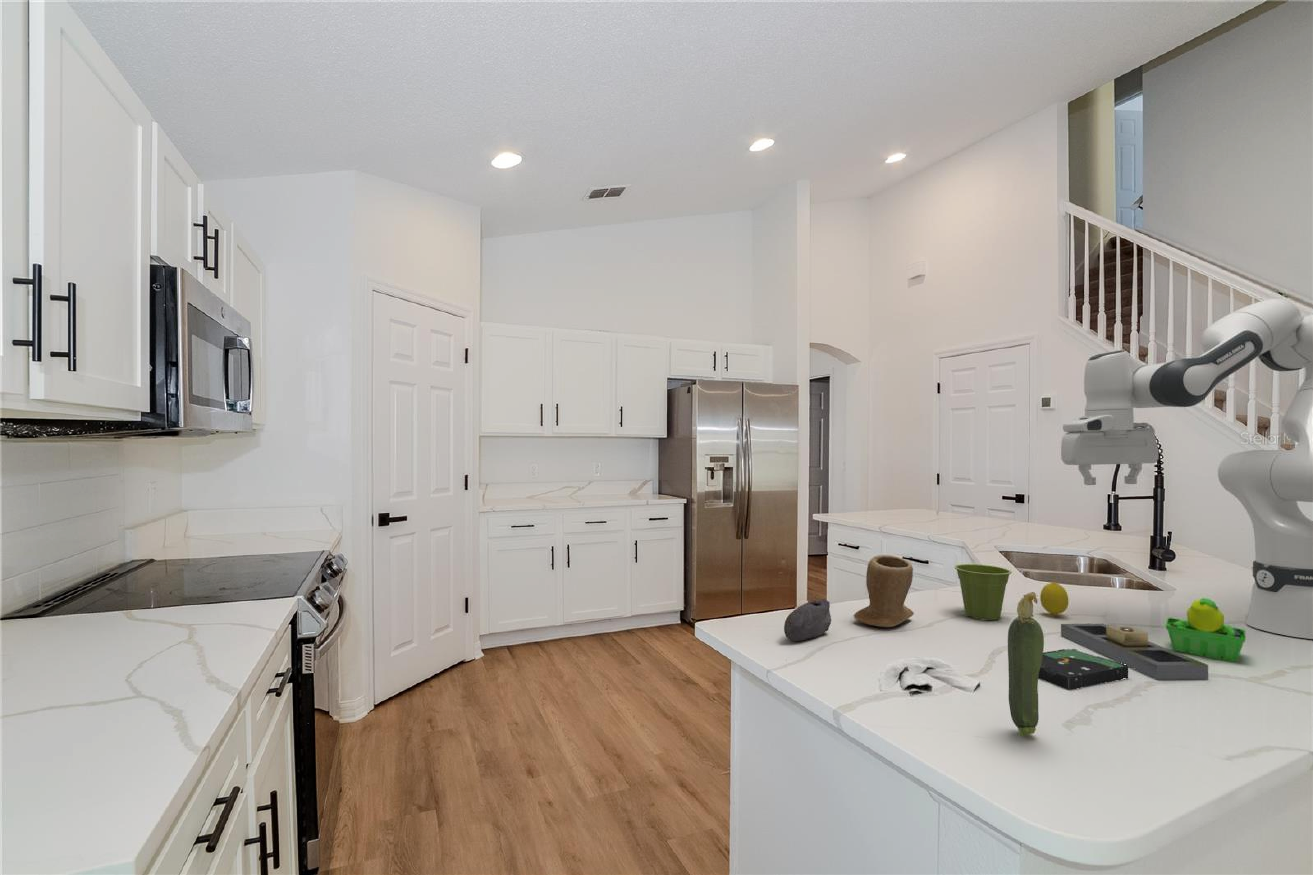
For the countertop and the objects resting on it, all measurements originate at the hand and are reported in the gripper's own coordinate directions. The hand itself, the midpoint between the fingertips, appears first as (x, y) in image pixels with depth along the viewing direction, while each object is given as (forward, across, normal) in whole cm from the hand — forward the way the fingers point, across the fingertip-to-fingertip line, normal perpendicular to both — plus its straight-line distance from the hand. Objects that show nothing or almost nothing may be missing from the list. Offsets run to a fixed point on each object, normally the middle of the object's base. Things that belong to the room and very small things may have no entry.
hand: (1110, 484), depth 138 cm
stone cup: (+30, +50, -3) cm, 59 cm away
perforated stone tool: (+30, +72, +7) cm, 78 cm away
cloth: (+31, +58, +31) cm, 73 cm away
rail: (+31, +14, +20) cm, 40 cm away
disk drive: (+31, +31, +29) cm, 53 cm away
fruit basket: (+32, -2, +20) cm, 37 cm away
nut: (+31, +14, +20) cm, 40 cm away
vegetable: (+30, +53, +50) cm, 79 cm away
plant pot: (+31, +26, -6) cm, 41 cm away
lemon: (+31, +10, -6) cm, 33 cm away
